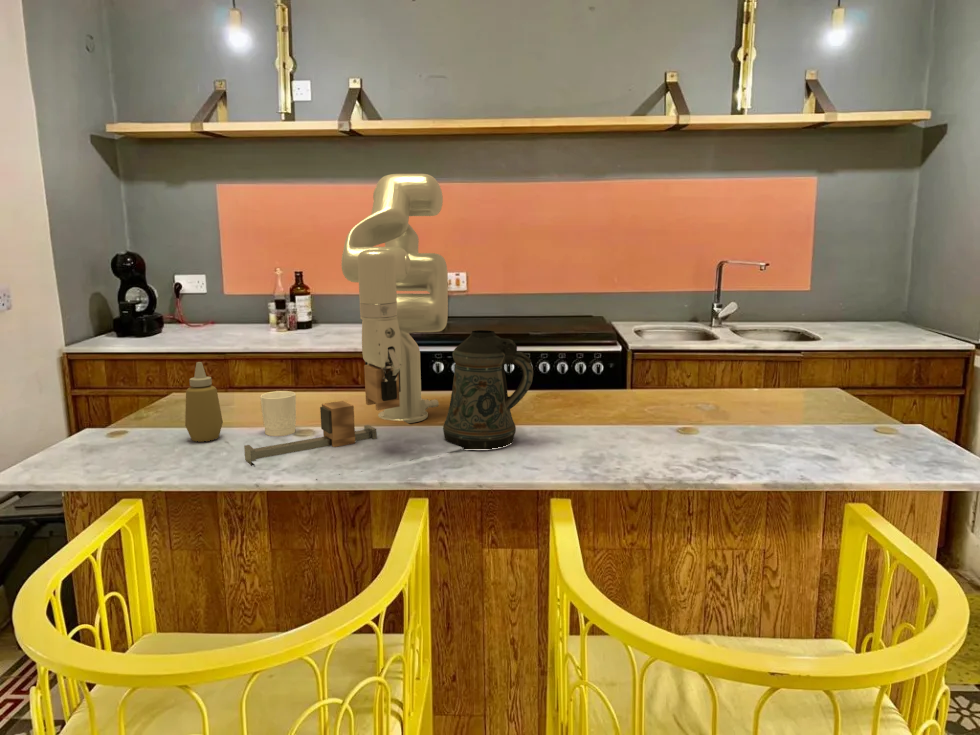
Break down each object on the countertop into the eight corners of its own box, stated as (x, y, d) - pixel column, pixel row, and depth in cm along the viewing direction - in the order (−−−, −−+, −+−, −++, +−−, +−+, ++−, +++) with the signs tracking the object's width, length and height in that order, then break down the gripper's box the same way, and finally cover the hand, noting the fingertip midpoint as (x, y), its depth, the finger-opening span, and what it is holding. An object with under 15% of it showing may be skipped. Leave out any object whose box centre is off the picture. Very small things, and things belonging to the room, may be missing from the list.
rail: (368, 438, 164) (368, 424, 164) (376, 442, 161) (376, 429, 160) (245, 460, 149) (244, 445, 148) (251, 465, 145) (250, 450, 145)
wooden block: (344, 437, 162) (343, 400, 160) (355, 443, 157) (353, 405, 156) (321, 441, 159) (319, 404, 157) (331, 447, 154) (329, 409, 152)
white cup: (288, 441, 162) (285, 399, 160) (256, 440, 164) (253, 397, 162) (303, 432, 170) (301, 391, 168) (273, 431, 171) (270, 390, 170)
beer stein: (437, 434, 168) (434, 328, 163) (516, 427, 172) (516, 325, 168) (451, 454, 152) (448, 338, 147) (537, 447, 157) (538, 334, 152)
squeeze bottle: (231, 436, 167) (225, 360, 164) (204, 445, 160) (198, 366, 157) (206, 432, 170) (199, 358, 167) (178, 441, 163) (171, 364, 160)
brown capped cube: (389, 400, 154) (388, 361, 152) (402, 406, 149) (400, 366, 148) (366, 404, 151) (364, 365, 149) (377, 410, 146) (376, 370, 145)
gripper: (415, 314, 141) (417, 402, 145) (377, 305, 155) (380, 385, 159) (380, 317, 137) (384, 408, 141) (344, 308, 151) (349, 390, 155)
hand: (382, 395), depth 150 cm, fingers closed on brown capped cube, 5 cm apart
